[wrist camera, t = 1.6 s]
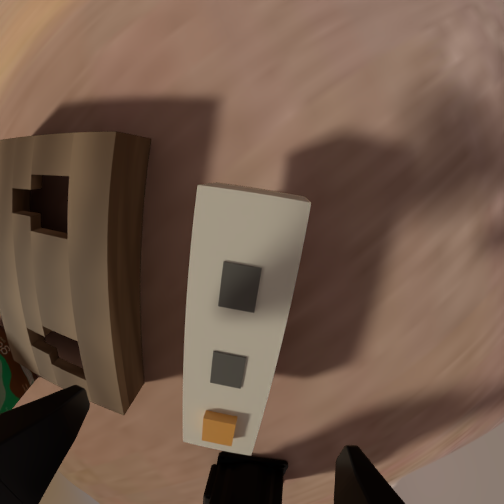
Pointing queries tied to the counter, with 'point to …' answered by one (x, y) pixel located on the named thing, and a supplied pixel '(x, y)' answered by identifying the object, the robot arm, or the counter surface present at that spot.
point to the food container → (12, 376)
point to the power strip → (237, 308)
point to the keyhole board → (76, 260)
